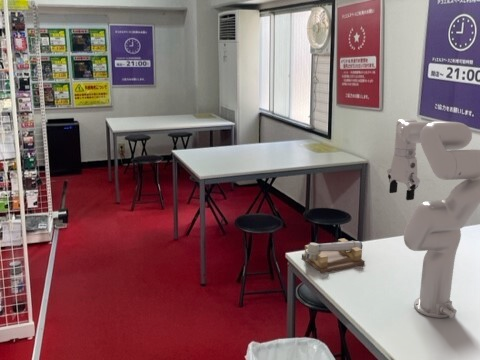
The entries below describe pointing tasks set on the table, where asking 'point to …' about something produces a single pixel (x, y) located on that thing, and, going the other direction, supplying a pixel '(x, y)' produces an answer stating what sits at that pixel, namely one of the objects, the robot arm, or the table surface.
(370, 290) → the table surface
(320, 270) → the rack
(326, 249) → the electric toothbrush handle
